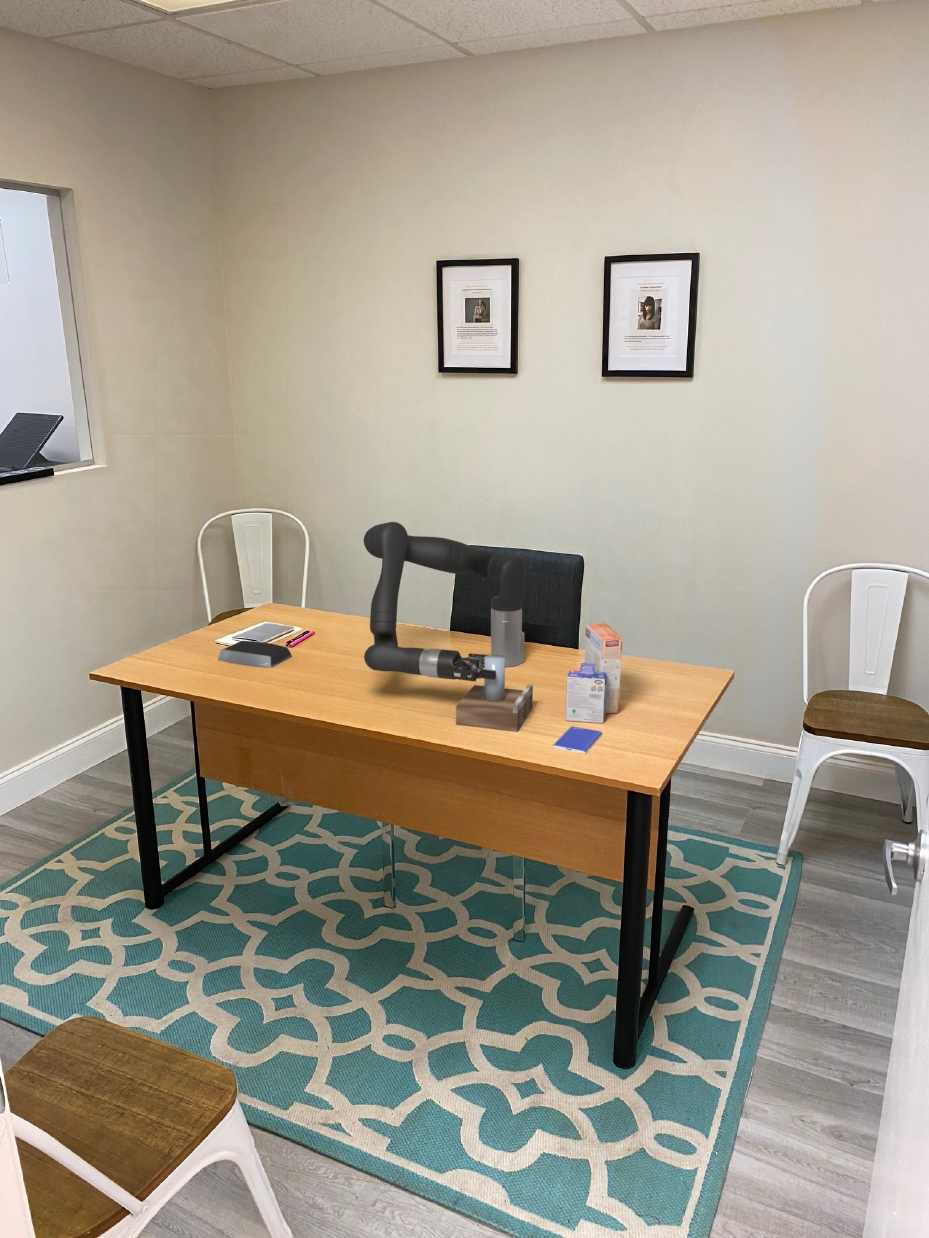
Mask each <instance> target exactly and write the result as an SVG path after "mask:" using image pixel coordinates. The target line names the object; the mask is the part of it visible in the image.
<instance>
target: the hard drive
mask: <svg viewBox="0 0 929 1238" xmlns="http://www.w3.org/2000/svg"><path fill="white" fill-rule="evenodd" d="M602 736H603V732H602V731H601V730H597V729H589V728H584V727H578V726H570V727H569V728H568V729H567V730H566V731H565V732H564V733H563V735H561V736H560V737H559V738H558V739H557V741H555V742H554V743H553V744H552V748H553V749H555V748H556V750H561V751H566V750H567V751H566V752H572V753H576V752H577V754H581V753H586V754H587V753H588V752H589V751H590V750H591V749H592V747H593V746H594V745H595V744H596V743H597V742H598V741H599V739H600V738H601V737H602ZM595 742H596V743H595ZM589 749H590V750H589ZM588 750H589V751H588ZM587 751H588V752H587Z"/></svg>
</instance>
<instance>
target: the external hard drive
mask: <svg viewBox="0 0 929 1238" xmlns="http://www.w3.org/2000/svg"><path fill="white" fill-rule="evenodd" d="M292 657H293V655H292V653H291V651H290V649H289V648H288V647H286V646H284V645H279V644H274V643H269V642H264V641H255V640H254V641H252V640H240V641H238V642H236V643H234V644H232V645H229V646H227V647H225V648H223V649H220V651H219V655H218V658H217V661H219V662H223V663H230V664H234V665H239V666H240V665H241V666H246V667H252V668H253V667H255V668H261V669H262V668H264V669H272V668H275V667H276V666H278V665H280V664H281V663H283V662H286V661H287V660H290V659H291V658H292Z"/></svg>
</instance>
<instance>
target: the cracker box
mask: <svg viewBox="0 0 929 1238" xmlns="http://www.w3.org/2000/svg"><path fill="white" fill-rule="evenodd" d="M584 641H585V642H584V643H585V645H584V663H588V664H595V672H606V674H607V679H606V707H605V715H609V714H610V715H611V714H619V708H620V707H619V705H620V703H619V702H620V692H621V691H620V690H621V689H620V686H621V671H622V670H621V669H622V652H623V650H622V649H623V637H622V636H620V635H619V634H618V632H616V631H615V630H614V629H613V628H612V627H611V626H609V625H608V624H607V623H604V622H598V623H587V624H585V640H584ZM583 669H590V670H591V669H592V667H590V666H584V667H583Z"/></svg>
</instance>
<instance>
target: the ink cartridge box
mask: <svg viewBox="0 0 929 1238" xmlns="http://www.w3.org/2000/svg"><path fill="white" fill-rule="evenodd" d="M584 666H590V667H592V669H591V670H590V669H584ZM606 679H607V674H606V672H595V664H588V663H585V662H581V663H580V668H579V670H569V671H568V673H567V676H566V700H565V702H566V703H565V705H566V706H565V721H569V722H582V723H583V722H585V723H597V724H604V721H605V720H606V719H605V718H606V714H605V707H606Z"/></svg>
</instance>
